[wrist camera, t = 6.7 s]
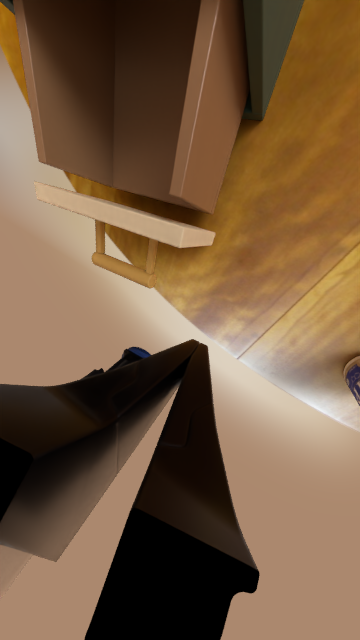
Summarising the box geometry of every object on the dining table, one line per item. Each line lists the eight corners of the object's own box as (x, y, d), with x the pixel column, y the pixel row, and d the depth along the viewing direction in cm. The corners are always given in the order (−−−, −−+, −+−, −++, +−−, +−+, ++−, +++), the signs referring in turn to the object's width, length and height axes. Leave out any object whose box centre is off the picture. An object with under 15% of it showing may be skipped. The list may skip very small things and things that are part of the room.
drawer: (198, 288, 19) (165, 312, 12) (109, 252, 22) (47, 257, 16) (301, -35, 9) (401, -735, 3) (111, -12, 12) (-54, -290, 6)
